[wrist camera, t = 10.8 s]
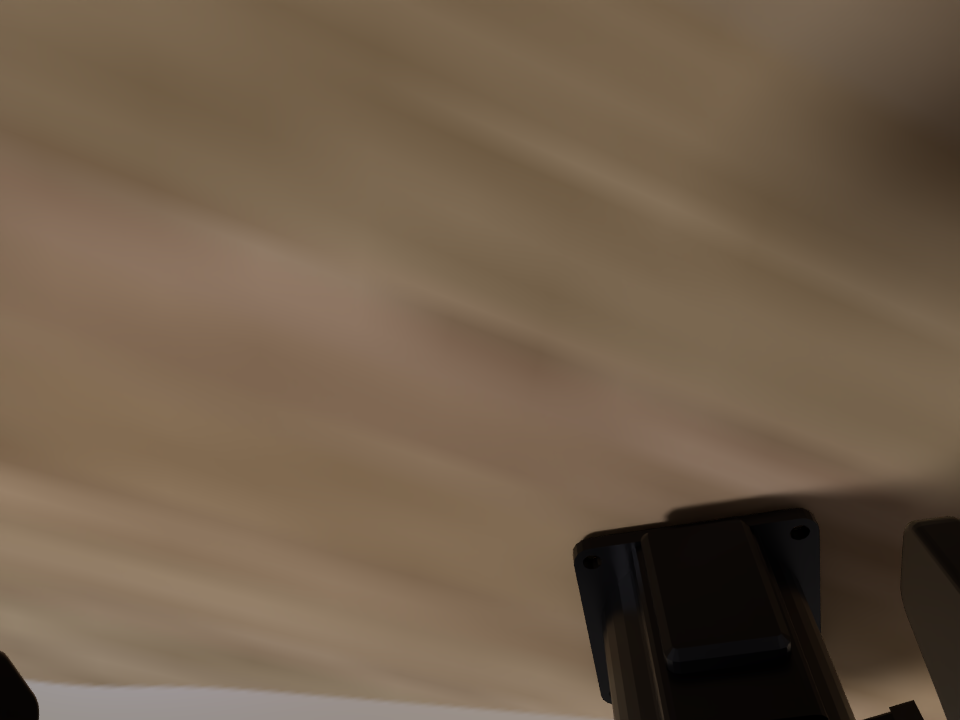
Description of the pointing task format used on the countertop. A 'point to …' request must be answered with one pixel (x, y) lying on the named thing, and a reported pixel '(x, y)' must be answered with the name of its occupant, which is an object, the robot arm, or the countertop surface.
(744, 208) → the countertop surface
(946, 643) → the robot arm
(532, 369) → the countertop surface
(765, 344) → the countertop surface
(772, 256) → the countertop surface
